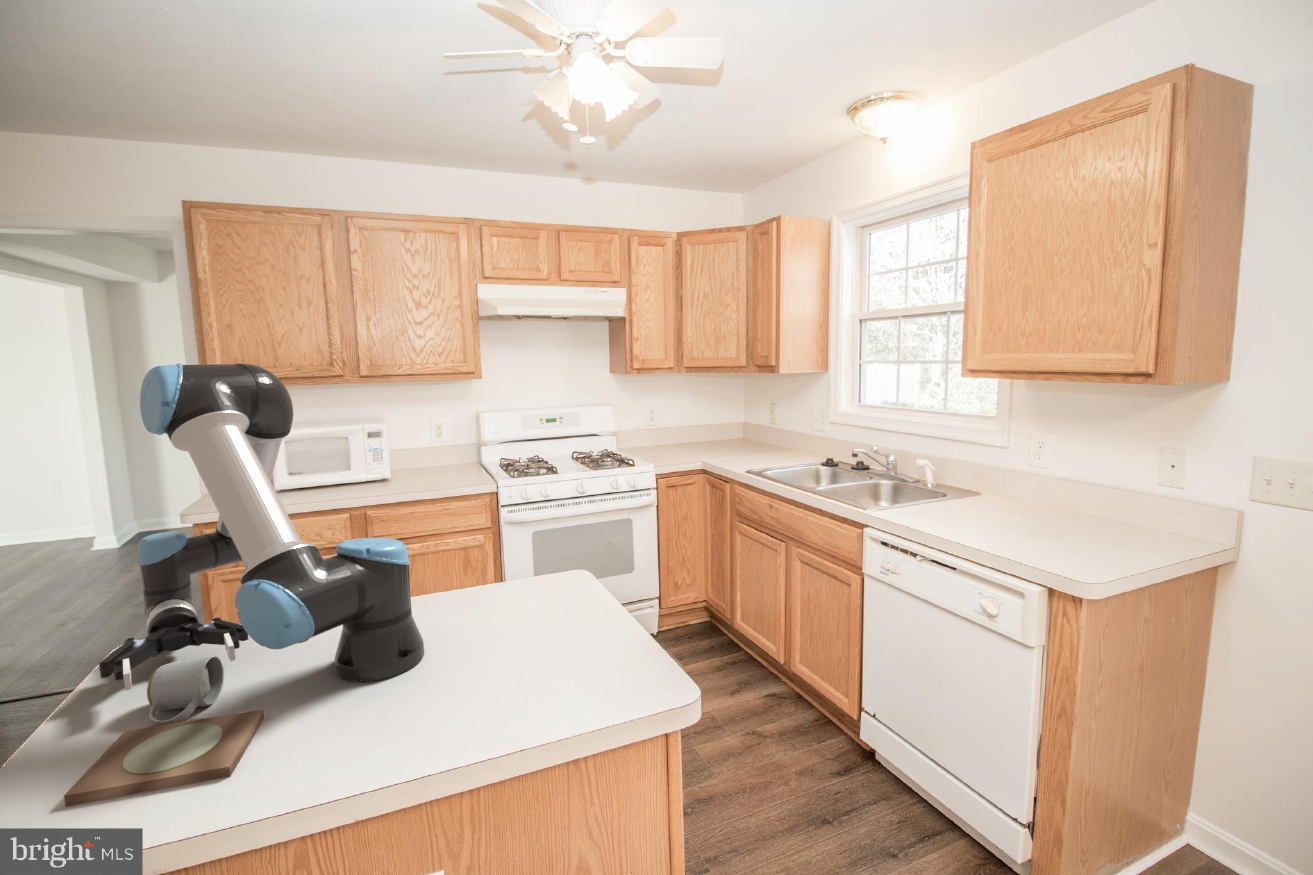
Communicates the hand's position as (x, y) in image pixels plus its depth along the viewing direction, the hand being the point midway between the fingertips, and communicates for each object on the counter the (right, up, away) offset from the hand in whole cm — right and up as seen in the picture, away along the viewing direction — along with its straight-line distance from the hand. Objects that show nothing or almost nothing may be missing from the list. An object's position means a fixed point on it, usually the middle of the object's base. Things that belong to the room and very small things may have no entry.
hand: (182, 667), depth 99 cm
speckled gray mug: (+2, -6, -2) cm, 7 cm away
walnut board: (+10, -8, -14) cm, 19 cm away
